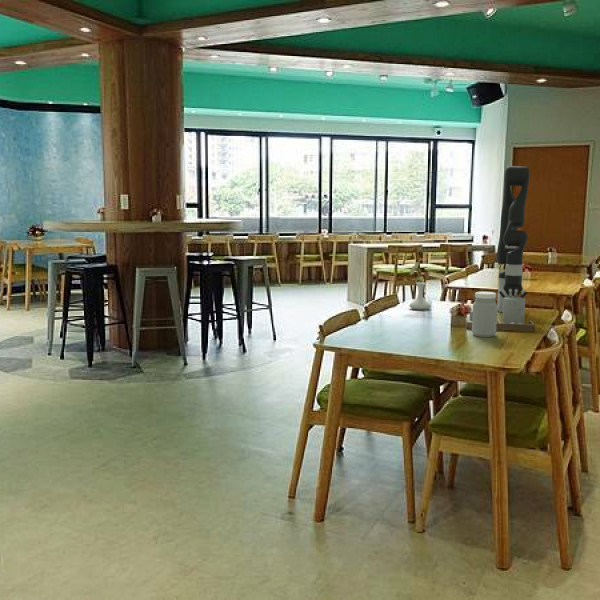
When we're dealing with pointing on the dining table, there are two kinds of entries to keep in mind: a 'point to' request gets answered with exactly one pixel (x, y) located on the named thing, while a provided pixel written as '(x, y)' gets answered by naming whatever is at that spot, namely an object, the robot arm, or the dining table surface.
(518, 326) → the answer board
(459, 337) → the dining table surface
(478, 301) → the jar
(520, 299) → the speckled white canister
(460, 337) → the dining table surface
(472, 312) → the block slate
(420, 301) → the flower in vase
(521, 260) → the robot arm
